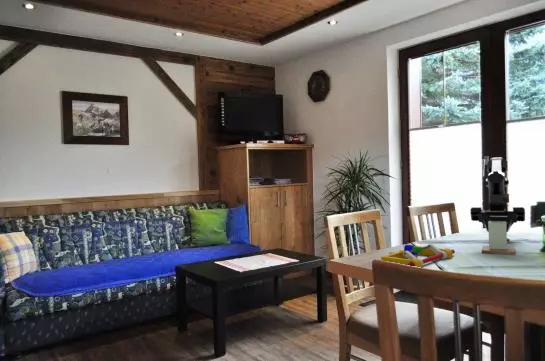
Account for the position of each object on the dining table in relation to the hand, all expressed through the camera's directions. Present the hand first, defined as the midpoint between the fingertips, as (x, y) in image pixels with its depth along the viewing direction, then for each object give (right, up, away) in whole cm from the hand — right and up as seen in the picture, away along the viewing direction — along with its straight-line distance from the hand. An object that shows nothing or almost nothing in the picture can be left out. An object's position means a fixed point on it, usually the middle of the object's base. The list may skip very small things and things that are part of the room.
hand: (497, 231), depth 160 cm
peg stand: (+1, -8, +1) cm, 8 cm away
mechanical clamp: (-34, -10, -6) cm, 36 cm away
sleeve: (+1, -7, +1) cm, 7 cm away
